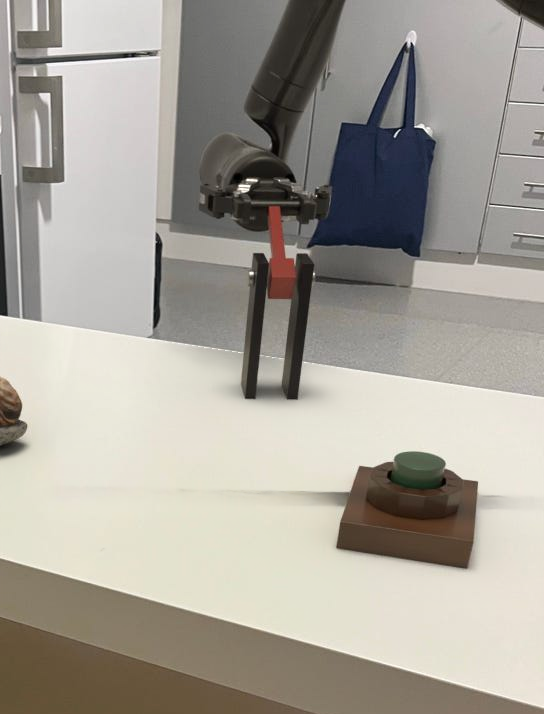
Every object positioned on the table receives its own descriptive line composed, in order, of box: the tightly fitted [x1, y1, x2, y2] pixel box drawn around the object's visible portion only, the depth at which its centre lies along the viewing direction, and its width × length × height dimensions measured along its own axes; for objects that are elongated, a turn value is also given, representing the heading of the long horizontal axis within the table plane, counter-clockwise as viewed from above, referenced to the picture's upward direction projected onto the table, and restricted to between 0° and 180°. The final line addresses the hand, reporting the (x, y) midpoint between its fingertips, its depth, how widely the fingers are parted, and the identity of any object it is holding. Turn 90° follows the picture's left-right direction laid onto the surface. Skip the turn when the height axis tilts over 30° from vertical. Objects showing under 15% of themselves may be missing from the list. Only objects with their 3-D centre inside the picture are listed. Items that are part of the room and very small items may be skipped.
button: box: [390, 450, 447, 490], centre depth 74 cm, size 4×4×2 cm
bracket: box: [240, 252, 316, 401], centre depth 96 cm, size 10×8×14 cm
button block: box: [335, 461, 479, 570], centre depth 75 cm, size 11×9×4 cm
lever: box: [250, 200, 300, 300], centre depth 96 cm, size 13×5×2 cm, turn 176°
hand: (276, 212), depth 97 cm, fingers closed on lever, 5 cm apart
